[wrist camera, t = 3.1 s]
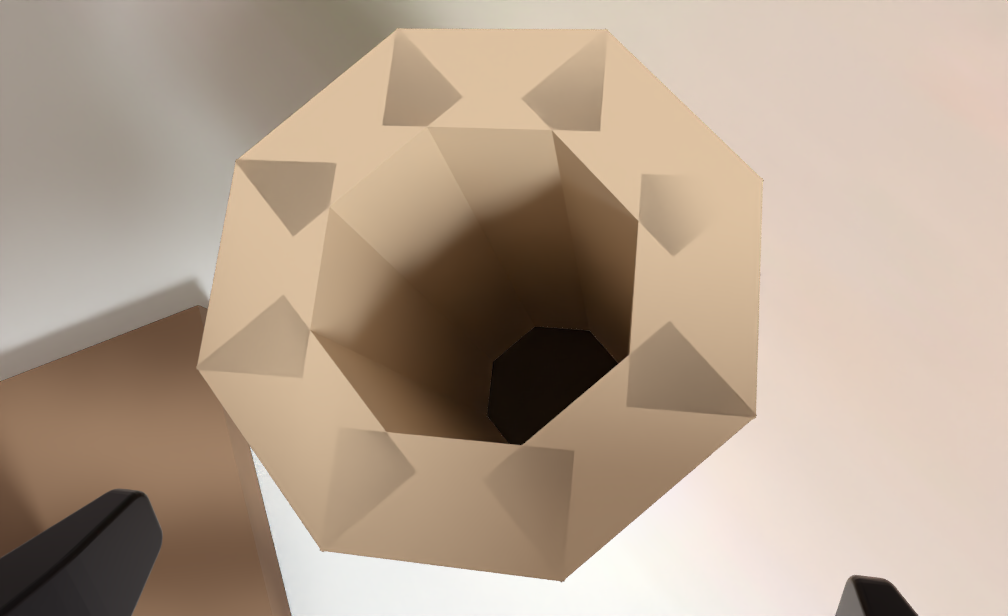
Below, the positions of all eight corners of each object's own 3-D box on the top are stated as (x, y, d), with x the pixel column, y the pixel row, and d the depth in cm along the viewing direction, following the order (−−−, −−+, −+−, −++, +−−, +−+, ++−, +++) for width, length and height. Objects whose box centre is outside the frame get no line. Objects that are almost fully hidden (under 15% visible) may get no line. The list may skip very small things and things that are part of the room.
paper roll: (668, 527, 19) (750, 605, 7) (429, 500, 20) (164, 532, 8) (681, 289, 20) (768, 29, 8) (456, 275, 21) (260, 26, 10)
